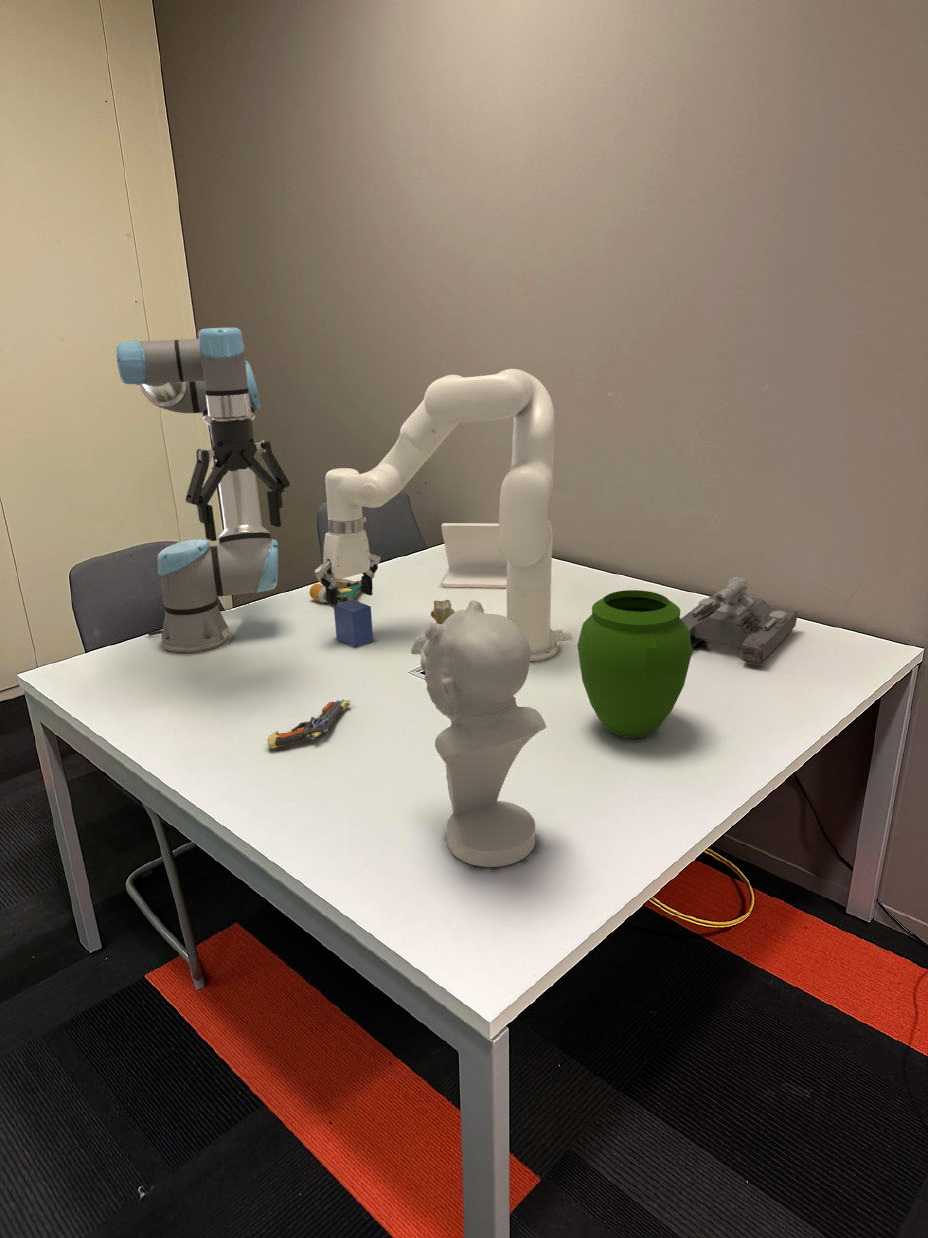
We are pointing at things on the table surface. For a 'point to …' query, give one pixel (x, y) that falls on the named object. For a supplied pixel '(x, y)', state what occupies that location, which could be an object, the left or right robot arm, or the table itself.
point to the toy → (740, 622)
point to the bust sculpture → (481, 729)
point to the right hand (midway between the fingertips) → (350, 598)
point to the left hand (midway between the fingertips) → (244, 532)
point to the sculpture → (441, 611)
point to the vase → (634, 660)
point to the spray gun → (338, 590)
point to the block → (353, 623)
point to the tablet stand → (474, 555)
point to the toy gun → (309, 726)
